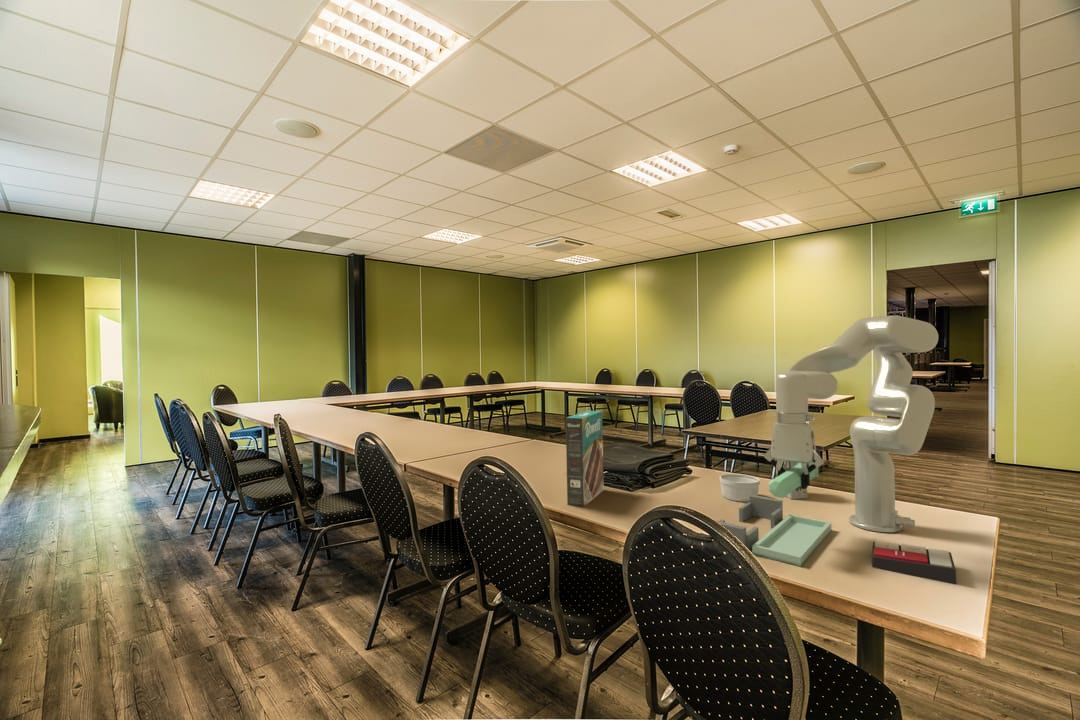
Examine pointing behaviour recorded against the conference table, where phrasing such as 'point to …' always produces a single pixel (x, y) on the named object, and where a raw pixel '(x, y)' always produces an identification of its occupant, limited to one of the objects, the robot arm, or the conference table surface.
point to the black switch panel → (914, 561)
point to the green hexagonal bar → (789, 480)
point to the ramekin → (739, 486)
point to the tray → (792, 540)
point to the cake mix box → (584, 457)
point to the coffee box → (798, 492)
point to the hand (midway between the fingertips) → (793, 485)
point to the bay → (757, 508)
